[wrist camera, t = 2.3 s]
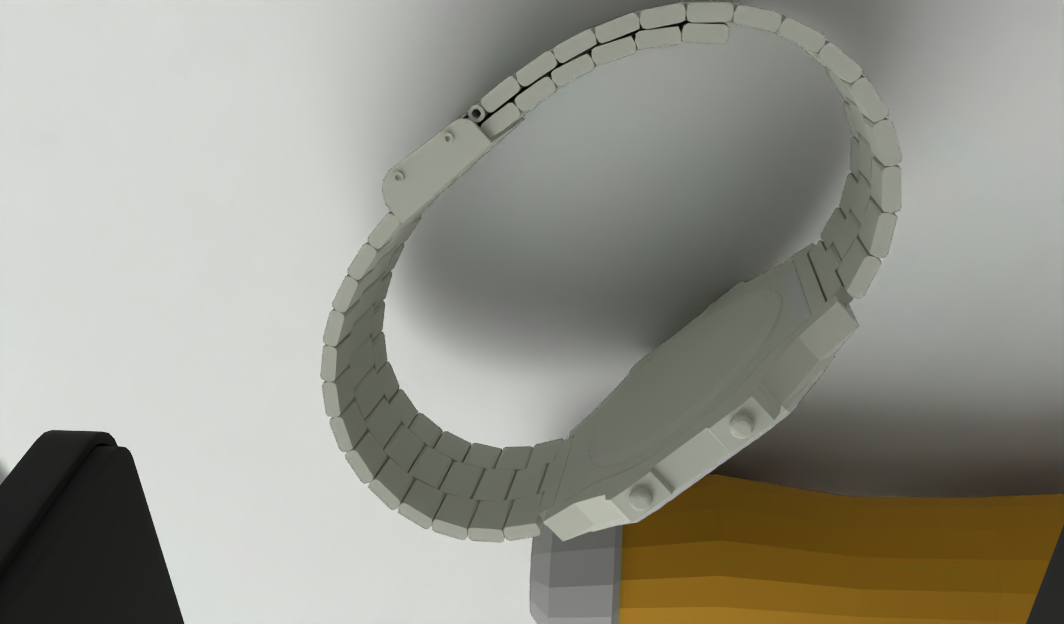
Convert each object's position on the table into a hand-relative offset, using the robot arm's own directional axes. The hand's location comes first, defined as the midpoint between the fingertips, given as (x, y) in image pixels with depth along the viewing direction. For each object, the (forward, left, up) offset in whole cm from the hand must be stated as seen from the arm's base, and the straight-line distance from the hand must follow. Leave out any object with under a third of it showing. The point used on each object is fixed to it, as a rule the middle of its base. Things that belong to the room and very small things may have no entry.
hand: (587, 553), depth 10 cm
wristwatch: (0, 0, -7) cm, 7 cm away
